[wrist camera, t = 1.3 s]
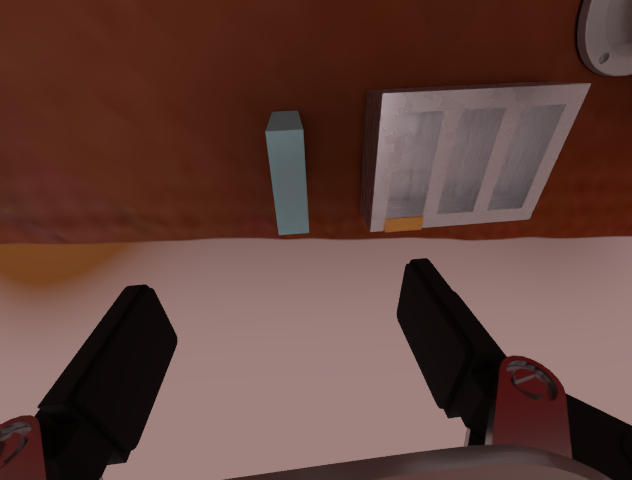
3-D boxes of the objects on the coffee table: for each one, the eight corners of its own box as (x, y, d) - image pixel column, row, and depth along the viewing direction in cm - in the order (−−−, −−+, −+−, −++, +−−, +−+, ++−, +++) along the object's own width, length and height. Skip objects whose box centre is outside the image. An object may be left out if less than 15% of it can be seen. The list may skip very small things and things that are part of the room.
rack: (543, 81, 26) (594, 83, 22) (498, 202, 34) (530, 222, 29) (366, 89, 25) (383, 93, 21) (359, 212, 33) (370, 235, 28)
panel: (297, 110, 26) (303, 129, 17) (302, 187, 30) (309, 232, 22) (272, 111, 26) (265, 131, 17) (280, 189, 30) (278, 235, 22)
